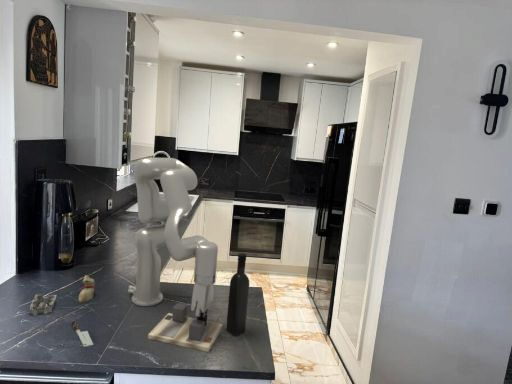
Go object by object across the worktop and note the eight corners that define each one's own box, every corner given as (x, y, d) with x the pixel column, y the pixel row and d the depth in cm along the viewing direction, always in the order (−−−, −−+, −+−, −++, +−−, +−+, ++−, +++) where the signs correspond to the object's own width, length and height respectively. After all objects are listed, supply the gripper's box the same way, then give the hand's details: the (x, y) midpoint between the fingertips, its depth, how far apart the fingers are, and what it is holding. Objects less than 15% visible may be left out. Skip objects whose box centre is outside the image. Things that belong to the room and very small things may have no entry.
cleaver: (99, 341, 111) (83, 344, 108) (98, 345, 111) (82, 348, 108) (86, 318, 123) (71, 320, 120) (85, 321, 123) (70, 323, 120)
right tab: (188, 338, 114) (189, 324, 114) (193, 331, 118) (194, 318, 117) (199, 340, 114) (200, 327, 113) (203, 334, 118) (204, 321, 117)
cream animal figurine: (99, 296, 140) (99, 274, 138) (80, 303, 133) (80, 280, 132) (92, 292, 143) (92, 270, 141) (73, 298, 136) (73, 275, 135)
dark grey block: (172, 320, 124) (172, 308, 123) (176, 315, 128) (177, 302, 127) (182, 322, 123) (183, 310, 123) (186, 317, 127) (187, 304, 126)
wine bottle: (224, 330, 125) (231, 253, 120) (236, 325, 129) (242, 250, 124) (234, 337, 121) (241, 258, 116) (246, 332, 125) (253, 255, 120)
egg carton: (36, 302, 132) (36, 292, 131) (58, 300, 134) (57, 291, 134) (27, 316, 122) (27, 306, 121) (50, 314, 124) (50, 304, 124)
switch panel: (148, 338, 116) (148, 333, 115) (168, 316, 130) (168, 312, 130) (208, 352, 111) (208, 347, 111) (222, 327, 126) (222, 323, 126)
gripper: (202, 267, 125) (199, 312, 128) (186, 283, 111) (182, 334, 114) (221, 271, 124) (218, 316, 127) (207, 288, 109) (203, 339, 112)
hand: (201, 325), depth 120 cm, fingers closed
